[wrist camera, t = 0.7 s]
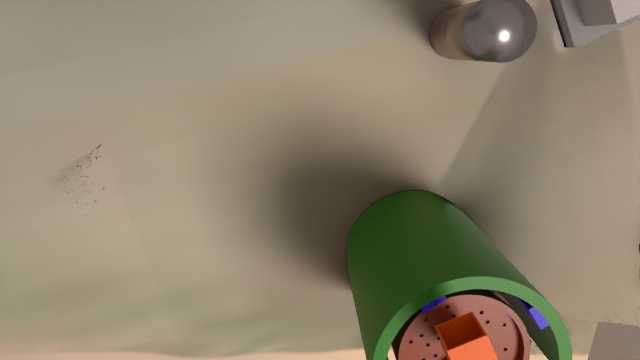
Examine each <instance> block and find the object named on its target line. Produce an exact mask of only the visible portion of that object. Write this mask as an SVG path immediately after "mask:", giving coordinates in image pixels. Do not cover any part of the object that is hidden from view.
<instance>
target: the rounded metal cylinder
mask: <svg viewBox="0 0 640 360" xmlns="http://www.w3.org/2000/svg"><path fill="white" fill-rule="evenodd" d="M536 31H537V21H536V16H535V13H534V11H533V9H532V8H531V6H530V5H529V4H528V3H527V2H526V1H525V0H480V1H477V2H473V3H469V4H466V5H462V6H459V7H455V8H451V9H448V10H445V11H443V12H442V13H440V14H439V15H438V16H437V17H436V18H435V20H434V21H433V23H432V26H431V29H430V41H431V44H432V47H433V48H434V50H435V51H436V52H437V53H438V54H439V55H440V56H442V57H444V58H447V59H457V60H472V61H486V62H509V61H513V60H515V59H517V58H519V57H521V56H522V55H523V54H524V53H526V51H527V50H528V49H529V48H530V46H531V45H532V43H533V41H534V39H535V36H536Z"/></svg>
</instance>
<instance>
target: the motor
mask: <svg viewBox="0 0 640 360" xmlns="http://www.w3.org/2000/svg"><path fill="white" fill-rule="evenodd" d="M346 265H347V269H348V274H349V279H350V284H351V288H352V293H353V298H354V302H355V307H356V312H357V317H358V321H359V326H360V331H361V335H362V340H363V345H364V350H365V354H366V359H367V360H388V356H387V354H388V351H389V348H390V346H391V344H392V347H393V351H394V354H395V357H396V360H529V357H530V341H529V336H530V337H531V338H532V339H533V341H534V342H535V343H536V344H537V346H538V347H539V348H540V350H541V351H542V352H543V353H544V355H545V356H546V357H547V358H548V360H572V347H571V341H570V337H569V334H568V331H567V329H566V326H565V324H564V322H563V320H562V318H561V317H560V315H559V314H558V312H557V311H556V310H555V309H554V307H553V306H552V305H551V304H550V303H549V302H548V301H547V300H546V299H545V298H544V297H543V296H542V295H541V294H540V293H539V292H538V290H537V289H536V288H535V287H534V286H533V285H532V284H531V283H530V282H529V281H528V280H527V279H526V278H525V277H524V276H523V275H522V274H521V273H520V272H519V271H518V270H517V269H516V267H515V266H514V265H513V264H512V263H511V262H510V261H509V260H508V259H507V258H506V257H505V256H504V255H503V254H502V253H501V252H500V251H499V250H498V249H497V248H496V247H495V245H494V244H493V243H492V242H491V241H490V240H489V239H488V238H487V237H486V236H485V235H484V234H483V233H482V232H481V231H480V230H479V229H478V228H477V227H476V226H475V225H474V224H473V222H472V221H471V220H470V219H469V218H468V217H467V216H466V215H465V214H464V213H463V212H462V211H461V210H460V209H459V208H458V207H457V206H456V205H455V204H453V203H452V202H451V201H449V200H447V199H446V198H444V197H442V196H439V195H437V194H434V193H430V192H425V191H404V192H399V193H395V194H391V195H389V196H386V197H384V198H382V199H380V200H378V201H377V202H375V203H374V204H372V205H371V206H370V207H369V208H367V209H366V210H365V211H364V212H363V213H362V215H361V216H360V217H359V218H358V220H357V221H356V223H355V224H354V226H353V228H352V230H351V232H350V235H349V238H348V241H347V246H346ZM528 334H529V336H528Z"/></svg>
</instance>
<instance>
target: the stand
mask: <svg viewBox="0 0 640 360" xmlns="http://www.w3.org/2000/svg"><path fill="white" fill-rule="evenodd" d="M550 2H551V5H552V8H553V12H554V15H555V18H556V21H557V24H558V28H559V31H560V34H561V37H562V41H563V44H564V47H576V46H579V45H581V44H583V43H586V42H588V41H590V40H593V39H595V38H598V37H600V36H602V35H605V34H607V33H609V32H612V31H614V30H616V29H619V28H621V27H623V26H626V25H628V24H630V23H633V22H635V21H637V20H640V0H550Z"/></svg>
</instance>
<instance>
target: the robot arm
mask: <svg viewBox="0 0 640 360" xmlns="http://www.w3.org/2000/svg"><path fill="white" fill-rule="evenodd" d="M588 360H640V328H639V327H638V326H634V325H625V324H616V323H607V322H598V325H597V328H596V332H595V335H594V339H593V342H592V346H591V350H590V353H589V357H588Z"/></svg>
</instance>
